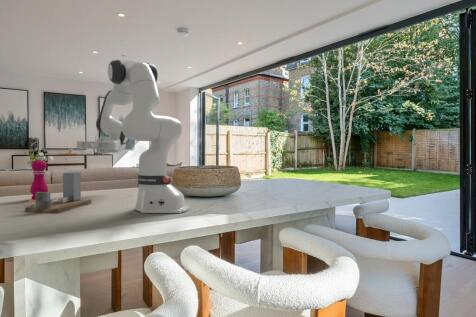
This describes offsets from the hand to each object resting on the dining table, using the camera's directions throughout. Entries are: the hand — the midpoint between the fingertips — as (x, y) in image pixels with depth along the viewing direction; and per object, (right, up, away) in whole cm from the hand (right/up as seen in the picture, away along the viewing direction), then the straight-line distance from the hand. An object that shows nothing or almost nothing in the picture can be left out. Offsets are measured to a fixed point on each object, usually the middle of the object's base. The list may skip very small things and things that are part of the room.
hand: (89, 145), depth 156 cm
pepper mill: (-23, -26, -1) cm, 35 cm away
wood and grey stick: (-7, -25, -27) cm, 37 cm away
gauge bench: (-3, -27, -19) cm, 33 cm away
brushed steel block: (-2, -25, -14) cm, 28 cm away
